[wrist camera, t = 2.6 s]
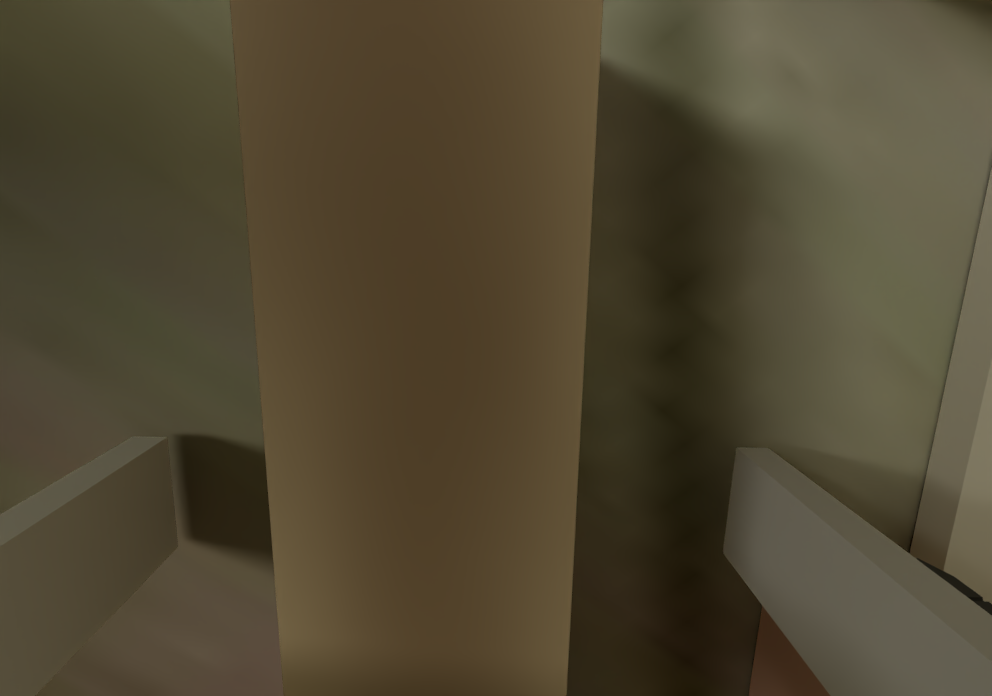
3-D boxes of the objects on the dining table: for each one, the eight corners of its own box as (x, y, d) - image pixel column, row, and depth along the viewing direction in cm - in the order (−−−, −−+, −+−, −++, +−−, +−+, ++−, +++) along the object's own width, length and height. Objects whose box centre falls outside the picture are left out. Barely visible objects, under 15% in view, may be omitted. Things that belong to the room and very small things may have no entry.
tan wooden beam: (377, 800, 16) (318, 1146, 10) (349, 26, 11) (215, -192, 5) (517, 797, 16) (543, 1134, 10) (541, 32, 11) (612, -172, 6)
